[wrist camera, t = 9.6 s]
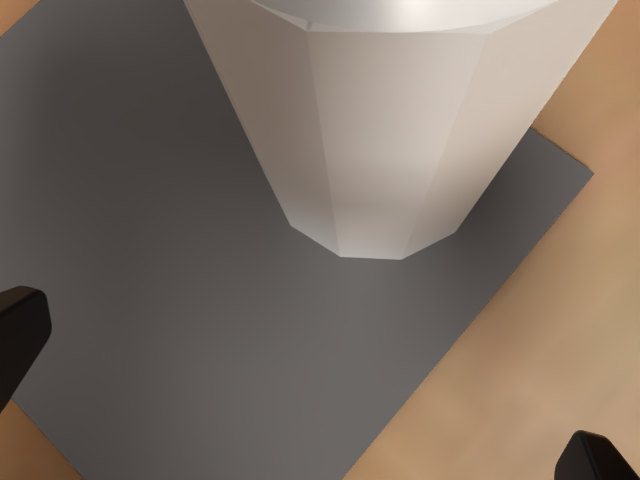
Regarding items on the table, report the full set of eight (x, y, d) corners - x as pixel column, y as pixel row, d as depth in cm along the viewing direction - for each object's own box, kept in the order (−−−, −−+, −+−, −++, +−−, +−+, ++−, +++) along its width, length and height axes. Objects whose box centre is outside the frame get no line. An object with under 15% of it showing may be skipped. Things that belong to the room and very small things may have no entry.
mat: (590, 176, 18) (594, 173, 18) (220, 623, 15) (218, 628, 15) (178, -119, 22) (176, -125, 22) (-164, 197, 20) (-172, 194, 19)
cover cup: (527, 195, 18) (858, -146, 6) (326, 297, 17) (263, 143, 6) (417, 24, 19) (508, -497, 8) (233, 112, 19) (40, -293, 7)
